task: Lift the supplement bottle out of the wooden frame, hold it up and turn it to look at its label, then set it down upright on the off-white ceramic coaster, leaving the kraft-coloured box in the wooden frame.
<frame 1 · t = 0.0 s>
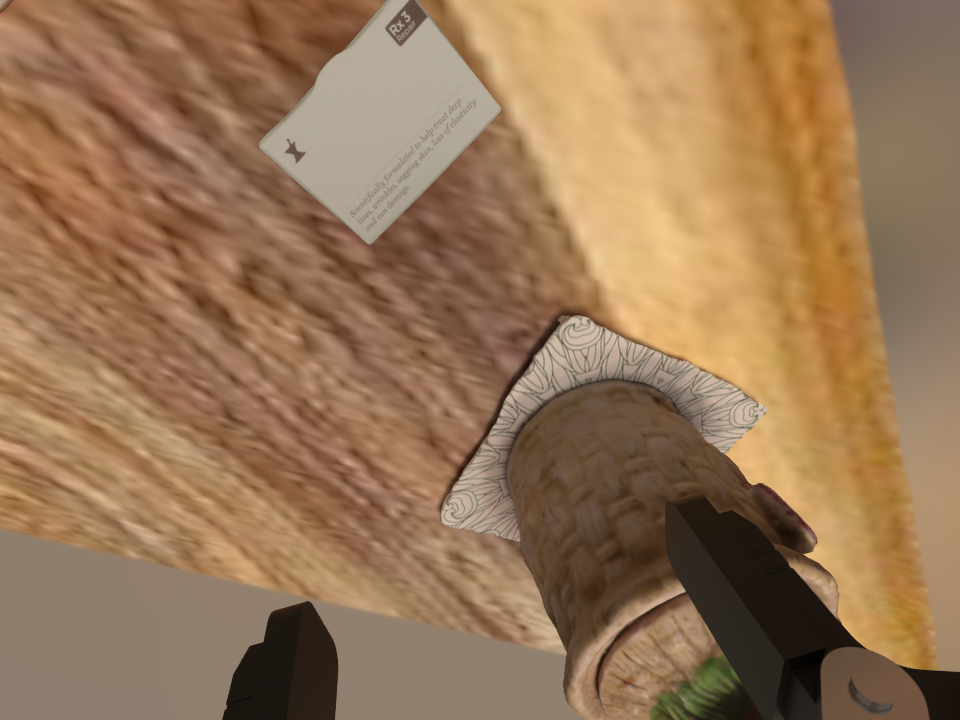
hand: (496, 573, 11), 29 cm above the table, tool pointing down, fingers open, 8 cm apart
skincare box: (380, 114, 33), on the table
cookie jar: (595, 451, 50), on the table
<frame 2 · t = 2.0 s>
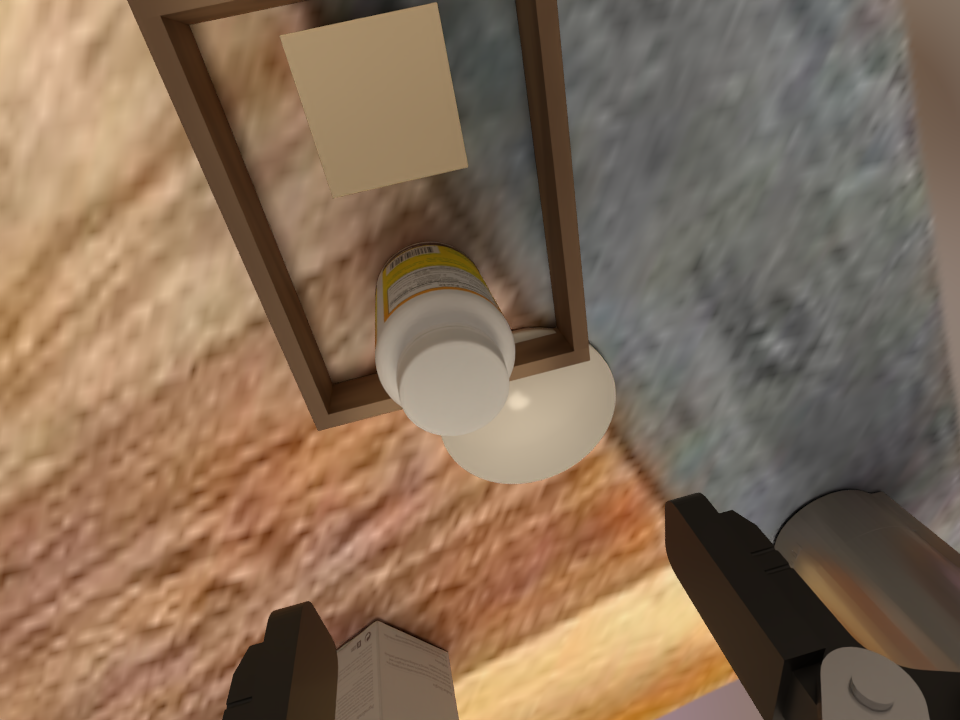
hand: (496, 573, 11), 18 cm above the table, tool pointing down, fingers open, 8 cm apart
wooden frame: (407, 204, 24), on the table
coaster: (527, 408, 31), on the table
skincare box: (393, 651, 41), on the table
supplement bottle: (429, 289, 27), resting in wooden frame
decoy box: (381, 101, 22), resting in wooden frame
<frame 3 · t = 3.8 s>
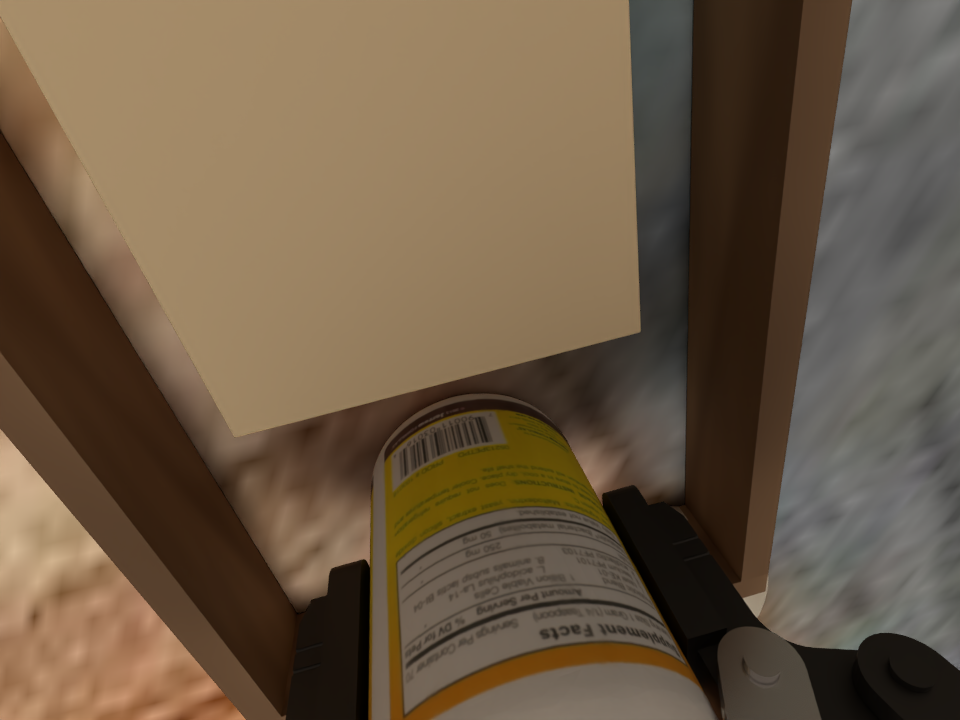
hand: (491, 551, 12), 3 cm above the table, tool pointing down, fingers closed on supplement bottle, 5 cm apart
wooden frame: (434, 327, 12), on the table
coaster: (620, 615, 19), on the table
supplement bottle: (470, 461, 15), resting in wooden frame, touching gripper
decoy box: (380, 125, 10), resting in wooden frame
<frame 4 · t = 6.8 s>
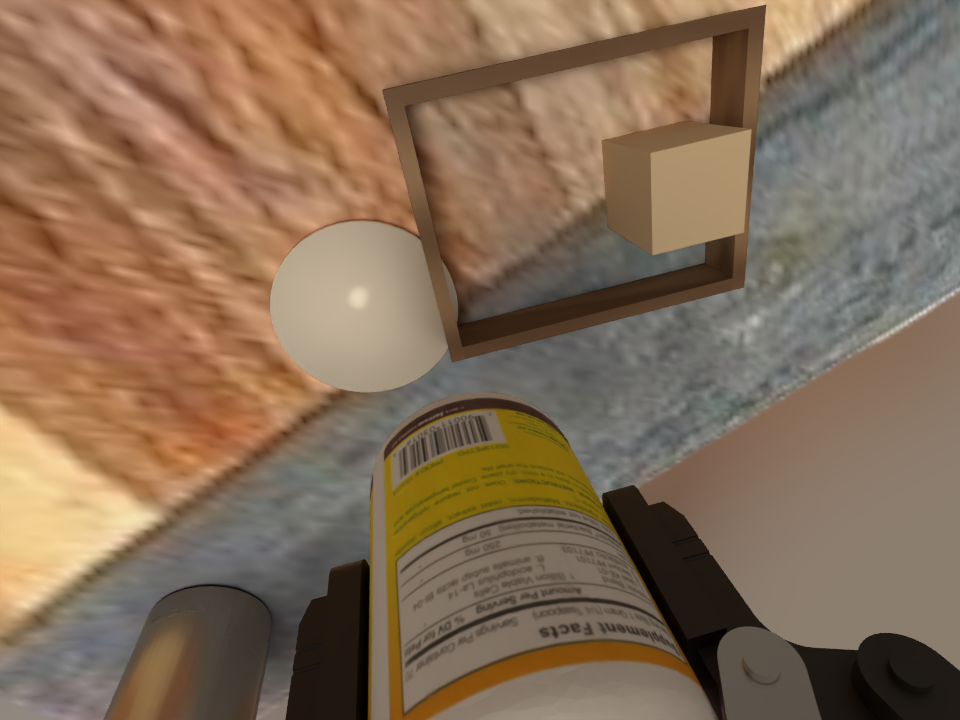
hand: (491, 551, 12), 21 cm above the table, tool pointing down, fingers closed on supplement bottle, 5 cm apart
wooden frame: (572, 193, 30), on the table
coaster: (367, 310, 31), on the table
supplement bottle: (469, 461, 15), point 18 cm above the table, touching gripper
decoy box: (644, 175, 30), resting in wooden frame
when the fingers open (5 cm above the table, at t = 9.8 s): supplement bottle drops 1 cm, resting on coaster.
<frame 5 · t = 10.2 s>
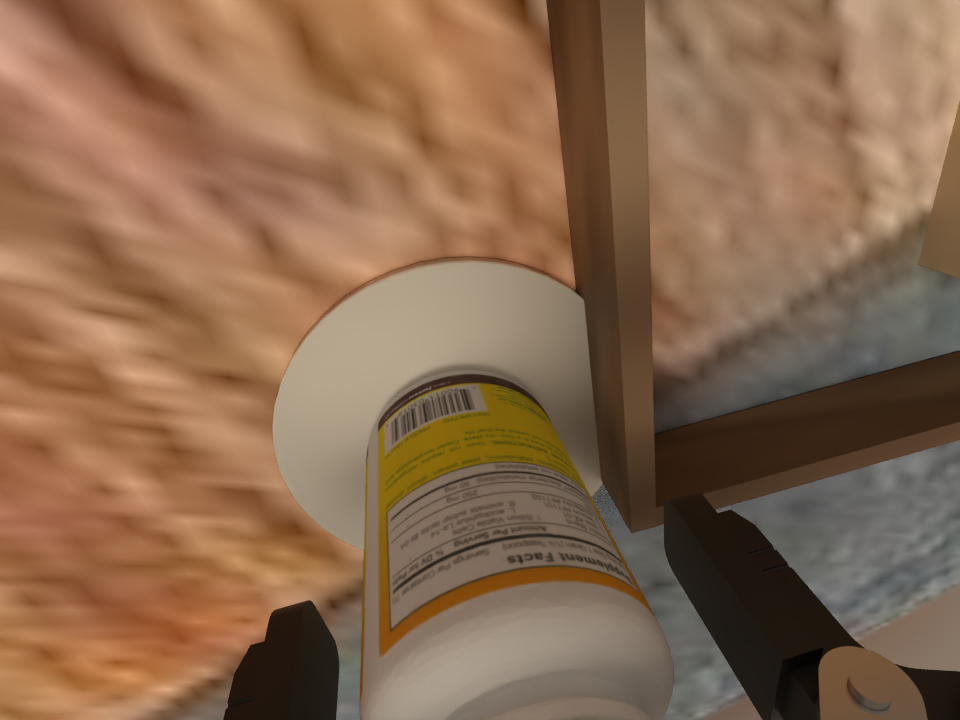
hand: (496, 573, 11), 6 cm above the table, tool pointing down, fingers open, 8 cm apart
wooden frame: (877, 201, 15), on the table
coaster: (460, 426, 16), on the table
supplement bottle: (458, 436, 16), resting on coaster
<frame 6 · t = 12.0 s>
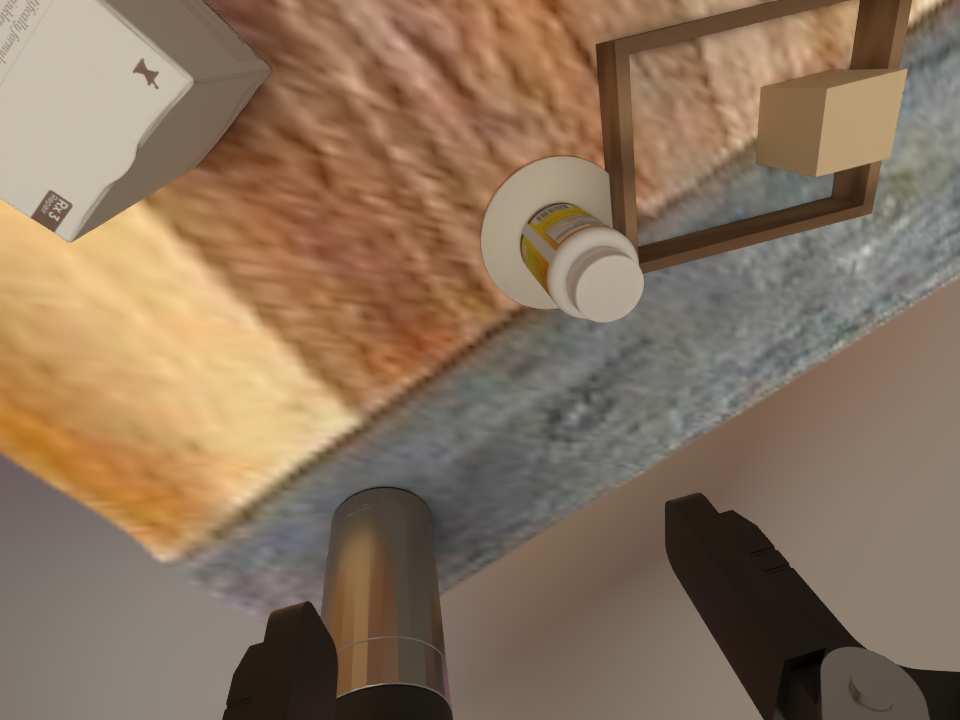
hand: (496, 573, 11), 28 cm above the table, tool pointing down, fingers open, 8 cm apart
wooden frame: (731, 133, 36), on the table
coaster: (554, 236, 37), on the table
skincare box: (190, 87, 29), on the table
supplement bottle: (554, 238, 37), resting on coaster
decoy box: (791, 118, 36), resting in wooden frame
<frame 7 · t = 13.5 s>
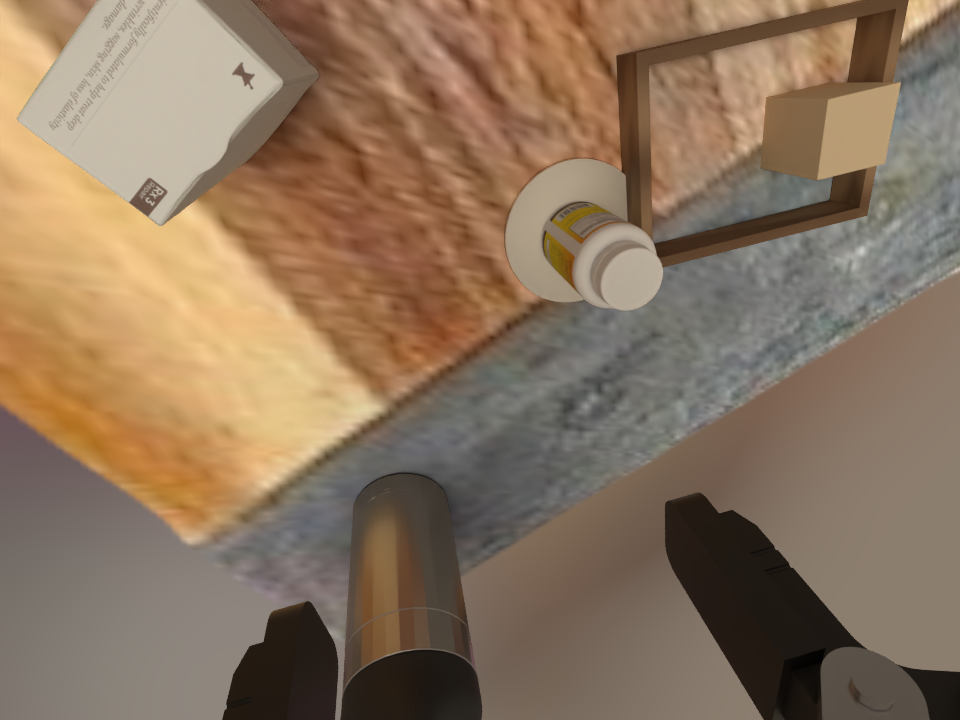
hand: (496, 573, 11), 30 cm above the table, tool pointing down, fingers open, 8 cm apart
wooden frame: (738, 139, 38), on the table
coaster: (573, 233, 39), on the table
skincare box: (243, 89, 32), on the table
supplement bottle: (573, 235, 39), resting on coaster
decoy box: (793, 126, 39), resting in wooden frame
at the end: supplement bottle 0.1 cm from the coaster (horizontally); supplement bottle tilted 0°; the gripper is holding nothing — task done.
